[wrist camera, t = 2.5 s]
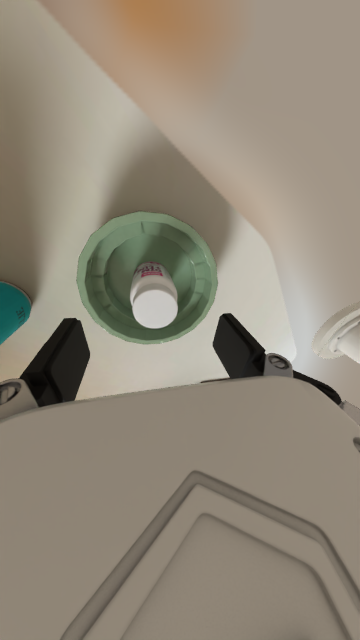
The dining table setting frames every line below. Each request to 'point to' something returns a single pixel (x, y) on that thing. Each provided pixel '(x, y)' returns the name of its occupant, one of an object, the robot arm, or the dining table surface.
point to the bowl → (126, 255)
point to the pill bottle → (153, 295)
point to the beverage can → (12, 309)
